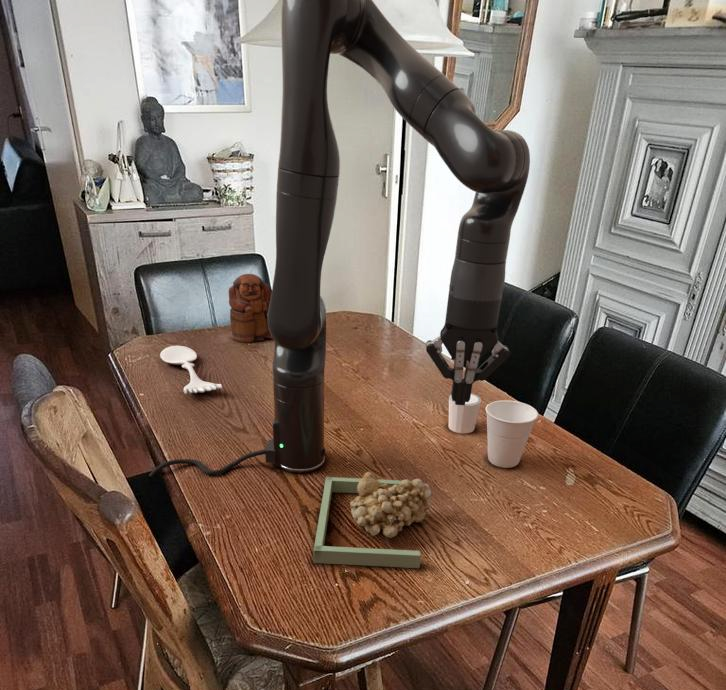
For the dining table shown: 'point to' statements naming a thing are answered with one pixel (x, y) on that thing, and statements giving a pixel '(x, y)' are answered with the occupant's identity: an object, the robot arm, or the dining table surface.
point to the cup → (508, 431)
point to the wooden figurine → (249, 308)
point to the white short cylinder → (464, 415)
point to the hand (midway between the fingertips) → (459, 403)
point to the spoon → (184, 358)
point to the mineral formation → (389, 504)
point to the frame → (349, 553)
